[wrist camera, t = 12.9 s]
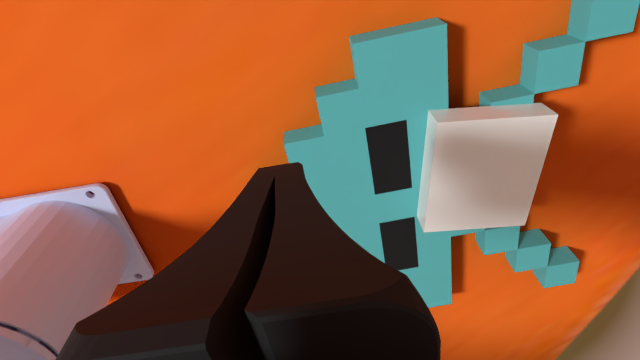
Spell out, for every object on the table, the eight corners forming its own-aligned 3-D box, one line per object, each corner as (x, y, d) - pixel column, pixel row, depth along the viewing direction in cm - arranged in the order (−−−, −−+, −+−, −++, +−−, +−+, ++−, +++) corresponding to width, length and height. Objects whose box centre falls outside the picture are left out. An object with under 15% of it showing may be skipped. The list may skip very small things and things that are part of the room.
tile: (423, 232, 23) (524, 225, 23) (437, 122, 19) (558, 114, 19) (416, 215, 24) (512, 209, 24) (428, 109, 20) (541, 102, 21)
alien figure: (611, -24, 19) (223, 60, 21) (644, -19, 18) (216, 73, 19) (557, 261, 30) (304, 304, 31) (574, 282, 28) (305, 328, 30)
